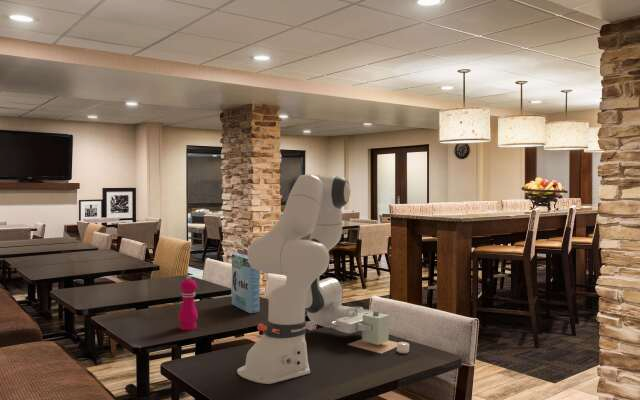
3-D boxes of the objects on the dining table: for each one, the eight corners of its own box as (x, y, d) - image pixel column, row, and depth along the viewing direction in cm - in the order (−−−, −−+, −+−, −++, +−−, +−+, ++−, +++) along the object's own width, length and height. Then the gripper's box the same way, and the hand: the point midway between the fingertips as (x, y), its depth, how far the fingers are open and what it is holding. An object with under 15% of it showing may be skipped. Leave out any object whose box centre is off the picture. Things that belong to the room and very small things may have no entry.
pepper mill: (192, 331, 200) (193, 277, 199) (174, 329, 202) (175, 276, 201) (201, 326, 207) (201, 274, 206) (183, 324, 209) (184, 273, 208)
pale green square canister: (377, 344, 184) (378, 314, 183) (361, 340, 188) (362, 311, 188) (388, 340, 189) (389, 311, 189) (372, 336, 193) (373, 308, 193)
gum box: (259, 312, 230) (260, 258, 229) (248, 313, 228) (249, 259, 227) (241, 303, 247) (241, 252, 246) (230, 304, 244) (231, 253, 243)
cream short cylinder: (405, 354, 179) (405, 346, 179) (394, 352, 182) (394, 343, 181) (411, 352, 182) (411, 343, 182) (400, 349, 185) (401, 341, 185)
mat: (381, 354, 179) (381, 353, 179) (347, 345, 188) (347, 344, 188) (403, 344, 190) (403, 344, 190) (370, 336, 199) (370, 335, 199)
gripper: (328, 315, 188) (360, 322, 180) (362, 306, 204) (393, 312, 195) (327, 333, 189) (360, 341, 180) (361, 322, 204) (393, 329, 196)
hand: (377, 326), depth 188 cm, fingers closed on pale green square canister, 7 cm apart
